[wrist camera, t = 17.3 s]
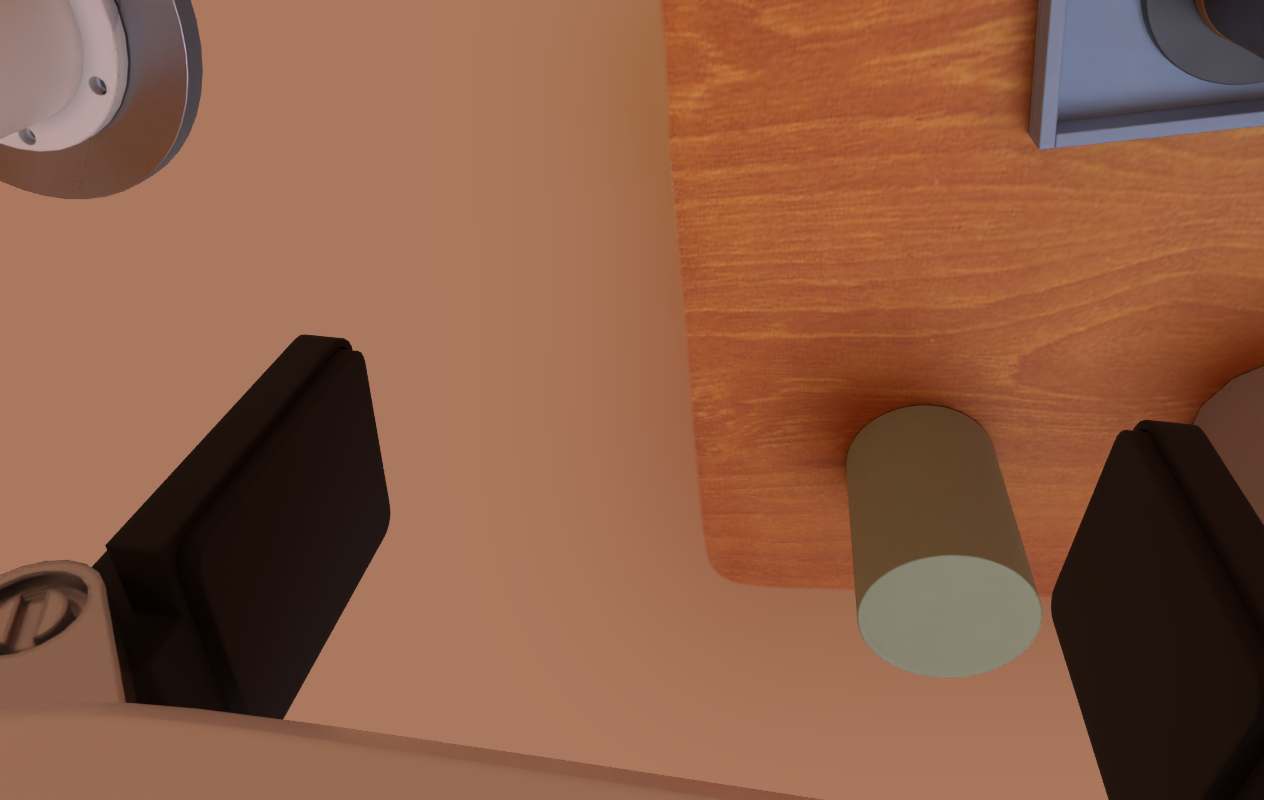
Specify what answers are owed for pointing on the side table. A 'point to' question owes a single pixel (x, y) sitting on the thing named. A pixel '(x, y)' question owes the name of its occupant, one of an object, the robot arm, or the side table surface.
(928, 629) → the pedestal
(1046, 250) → the side table surface
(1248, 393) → the cup
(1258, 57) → the hat
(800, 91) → the side table surface
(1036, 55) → the tray
